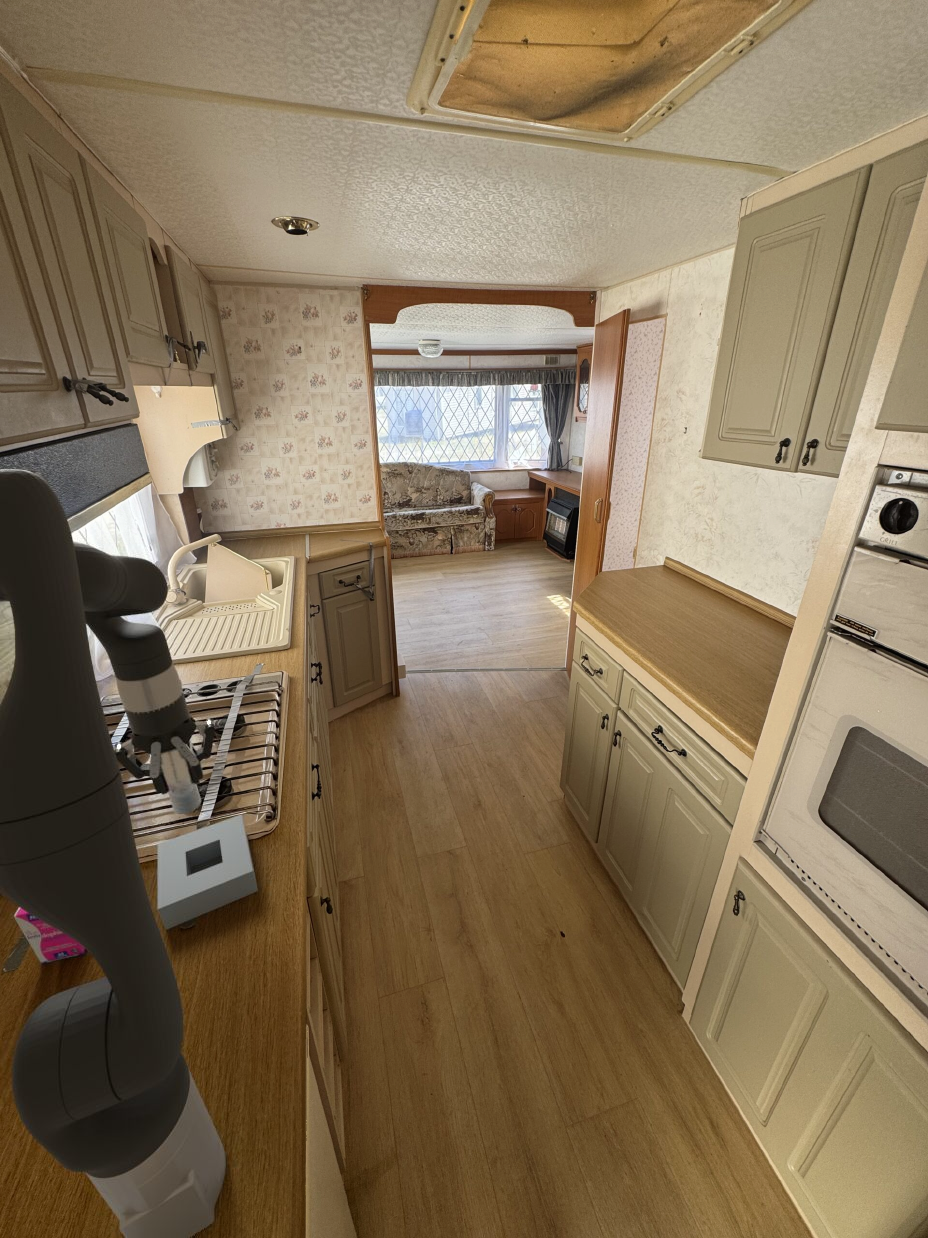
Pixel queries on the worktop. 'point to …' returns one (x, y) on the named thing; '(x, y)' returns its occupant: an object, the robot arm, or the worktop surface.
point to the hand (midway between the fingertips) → (181, 785)
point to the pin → (179, 782)
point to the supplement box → (47, 939)
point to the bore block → (204, 871)
